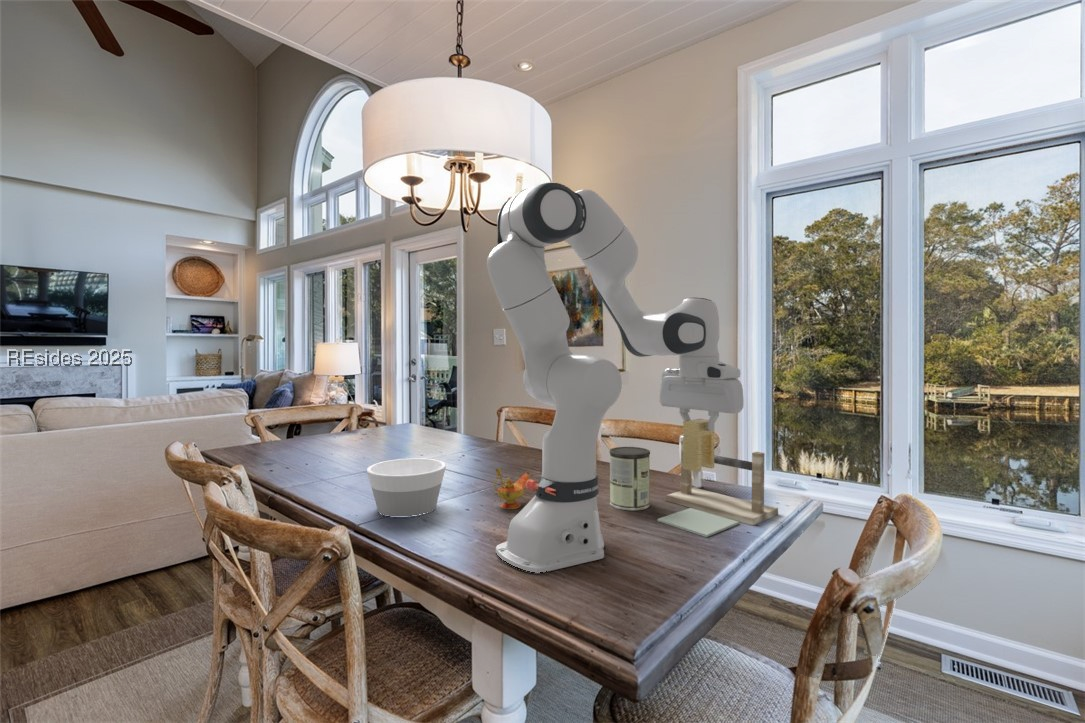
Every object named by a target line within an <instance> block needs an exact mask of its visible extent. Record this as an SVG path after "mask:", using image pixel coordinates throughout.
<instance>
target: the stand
mask: <svg viewBox="0 0 1085 723" xmlns="http://www.w3.org/2000/svg"><path fill="white" fill-rule="evenodd" d="M751 454H752V455H751V461H748V460H742V459H739V458H738V459H737V458H732V457H726V456H721V455H715V454H714V464H716V465H722V466H727V467H731V468H737V469H741V470H747V471H751V500H745V499H742V498H737V497H734V496H733V497H732V496H729V495H725V494H721V493H718V492H713V491H710V490H706V489H702V488H700V489H698V488H694V487H692V471H691V470H686V469H683V441H681V463H680V484H681V486H680V490H678V491H676V492H672V493H670V494H666V495H665V501H667V502H670V503H673V504H677V505H681V506H684V507H686V508H687V507H688V508H693V509H696V510H700V511H703V512H707V513H710V514H714V515H717V516H721V517H724V518H728V519H731V520H735V521H738V522H739V523H743V524H746V525H750V526H755V525H758V524H760V523H762V522H765V521H766V520H769V519H771V518H774V517H775V516H778V515H779V508H778V507H774V506H770V505H766V504H765V455H766V454H765V452H760V451H753V452H751Z"/></svg>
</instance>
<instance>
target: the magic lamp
mask: <svg viewBox="0 0 1085 723" xmlns="http://www.w3.org/2000/svg"><path fill="white" fill-rule="evenodd" d="M495 472H496V475H497V477H496V478H495V481H494V489H495V491H496V493H497V495H498V497H500V498H499V501H500V502H503V501H505V500H506V501H505V502H504V503H502V504H501V505H500V507H501V508H502V509H507V510H514V509H519V508H520V507H521V504H520V503H518V502H517V501H516V500H518V499H520V498H521V497H523V495H524V494H525V489H526V482H527V480H529V479H530V478H531V474H532V473H533V471H528V470H527V471H525V473H524V474H523V475H521V476H520V478H519V479H518V480H517V481H515V482H512V480H511V478H510V477H507V479H506V480H505V481H504V483H503V470H502V469H501V468H495ZM498 479H500V480H499V482H500V487H499V488H497V486H496V485H497V481H498Z"/></svg>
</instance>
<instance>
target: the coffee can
mask: <svg viewBox="0 0 1085 723" xmlns="http://www.w3.org/2000/svg"><path fill="white" fill-rule="evenodd" d="M650 454H651V450H649V449H647V448H644V447H638V446H617V447H612V448H610V449H609V505H610V506H611V507H612V508H615V509H618V510H623V511H643V510H647V509H648V508H649V507H650V506H651V505H650V504H651V503H650V495H651V494H650V474H651V472H650Z"/></svg>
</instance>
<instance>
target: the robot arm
mask: <svg viewBox="0 0 1085 723" xmlns="http://www.w3.org/2000/svg"><path fill="white" fill-rule="evenodd" d="M496 228H497V246H495V247H494V248H493V249H492V250H491V251H490V253H489V255H488V256H487V260H486V268H487V272H488V276H489V279H490V282H491V284H492V285H491V286H492V287H493V291H494V293H495V296H496V297H497V300H498V302H499V305H500V306H501V309H502V311H503V313H504V314H505V317H506V319H507V320H508V323H509V324H510V327H511V329H512V331H513V333H514V335H515V337H516V339H517V342H518V343H519V347H520V350H521V354H522V359H523V362H524V367H525V369H524V372H523V374H522V376H523V377H522V381H523V382H522V383H523V386H524V389H525V391H526V393H527V394H528V396H530V397H531V398H533V399H535V400H536V401H538V402H540V403H541V404H544V405H547V406H551V407H552V406H553V407H555V413H554V414H555V415H554V418H553V421H552V424H551V427H550V428H549V430H547V432H545V434H544V435H543V438H542V442H541V443H542V450H541V451H542V452H541V453H542V454H541V455H542V457H541V458H542V459H541V461H542V462H541V467H542V468H541V470H542V471H541V472H542V473H541V475H540V477H539V480H538V481H537V480H533V479H532V478H531V479H530V478H529V479H528V480H527V482H526V487H525V489H527V490H530V491H533V492H534V494H535V495H534V496H533V497H532V498H531V499H530V500H529V501H528V502H527V504H525V506H524V507H523V508H522V509H521V510H520V511H519V512H518V513H517V514H516V515H515V516H514V517H512V519H511V521H510V523H509V526H508V531H507V538H506V541H504V542H501V543H499V544H497V545H496V546H495V554H496V553H497V555H498V556H499V557H500V558H501V559H502V560H501V559H500V558H499V557H498V556H497V555H496V556H497V557H498V558H499V559H500V560H501V561H503V560H504V561H506V562H507V563H509V564H511V565H513V566H515V567H518V568H521V569H523V570H526V571H525V572H527V571H530V572H529V573H531V572H535V573H534V574H541V573H540V572H543V573H547V572H552V571H555V570H560V569H563V568H569V567H572V566H577V565H582V564H585V563H588V562H589V563H590V562H593V561H597V560H601V559H604V558H605V550H604V548H605V541H604V538H603V535H602V531H601V523H600V514H599V509H598V508H599V507H598V500H597V499H598V498H597V496H598V495H599V486H600V485H599V476H598V475H597V450H598V448H597V447H598V437H599V433H600V429H601V425H602V423H603V420H604V418H605V415H606V413H607V412H608V411H609V409H611V407H612V406H614V405H615V404H616V402H617V401H618V399H619V398H620V395H621V393H622V388H623V387H622V384H623V380H622V376H621V373H620V372H621V371H620V370H619V369H618V367H617V366H616V364H614V363H613V362H612V361H610V360H608V359H606V358H603V357H600V356H597V355H593V354H574V353H573V352H572V351H571V350H570V347H569V342H568V337H567V331H568V329H569V327H570V325H571V324H570V323H571V320H570V315H569V313H568V311H567V309H566V307H565V305H564V303H563V301H562V298H561V296H560V294H559V292H558V289H557V287H556V286H555V284H554V281H553V278H552V277H551V275H550V273H549V271H548V269H547V265H546V261H545V249H546V247H549V246H551V245H554V244H558V243H561V242H565V243H567V244H568V245H569V246H570V247H572V249H573V250H574V252H575V253H576V255H577V256H578V258H579V259H580V260H581V262H582V263H583V264H584V266H585V268H587V270H588V272H589V274H590V278H591V282H592V283H591V284H592V285H593V287H594V289H595V291H596V293H597V295H598V296H599V298H600V300H601V301H602V303H603V304H604V306H605V308H606V309H607V312H608V313H609V314H610V316H611V318H612V319H613V321H614V322H615V325H617V328H618V331H619V333H620V336H621V338H622V341H623V342H622V343H623V344H624V346H625V348H626V350H627V351H628V352H629V353H630V354H632V355H634V356H635V357H639V358H641V357H642V358H644V357H651V356H659V357H661V356H665V357H666V356H678V359H679V360H678V368H666V369H665V370H664V371H663V372H662V373H661V384H660V390H659V403H660V405H661V406H662V407H668V408H678V409H679V415H680V416H681V418H682V420H683V421H688V420H692V419H691V417H690V415H689V413H690V412H691V410H695V411H705V412H707V414H708V415H707V416H708V417H709V419H708V420H709V421H708V422H707V423H704V426H705V427H704V430H705V431H714V432H715V423H716V421H717V420H718V418H719V416H720V413H724V414H739V413H741V412H742V410H743V409H744V403H745V402H744V390H743V384H742V382H741V381H740V379H739V378H740V377H741V369H740V368H738V367H736V366H734V365H730V364H727V363H725V362H722V361H721V360H720V352H719V348H718V344H719V341H720V317H719V311H718V307H717V305H716V303H715V301H713V300H711V299H708V298H705V297H687V298H684V299H683V300H682V302H681V303H680V304H679V305H677V306H676V307H675V308H672V309H670V310H668V311H666V312H658V313H649V312H648V313H647V312H646V311H642V310H641V309H640V308H639V307H638V305H637V303H636V302H635V300H634V298H633V297H632V295H631V294H630V292H629V290H628V288H627V286H626V284H625V279H626V278H627V277H628V276H629V274H630V273H631V272H632V271H633V270H634V268H635V266H636V264H637V261H638V258H639V247H638V245H637V242H636V239H635V238H634V236H633V235H632V233H631V232H630V230H629V229H628V227H627V226H626V224H625V223H624V222H623V220H622V219H621V217H620V216H619V215H618V214H617V212H615V210H614V209H613V208H612V207H611V206H610V205H609V203H608V202H606V200H604V199H603V198H602V197H601V195H599V194H598V193H597V192H596V191H594V190H592V189H580V190H577V191H573V190H572V189H571V188H570V187H569V186H566V185H564V184H562V183H558V182H554V181H553V182H552V181H549V182H548V181H547V182H541V183H538V184H536V185H535V186H533V187H529V188H525V189H523V190H521V191H519V192H517V193H515V195H513V196H512V197H510V198H509V199H507V200H506V201H505V202H504V203H503V204H502V206H501V208H500V209H499V211H498V214H497V220H496ZM504 561H503V562H504ZM506 562H505V563H506ZM507 563H506V564H507ZM509 564H508V565H509ZM511 565H510V566H511ZM513 566H512V567H513ZM515 567H514V568H515ZM523 570H522V571H523ZM546 571H547V572H546Z"/></svg>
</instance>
